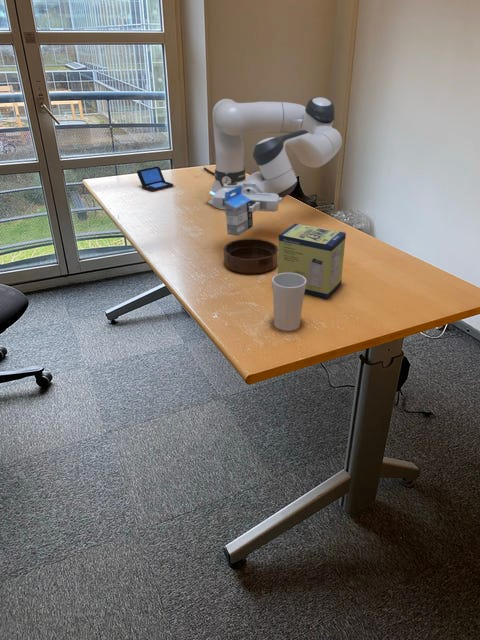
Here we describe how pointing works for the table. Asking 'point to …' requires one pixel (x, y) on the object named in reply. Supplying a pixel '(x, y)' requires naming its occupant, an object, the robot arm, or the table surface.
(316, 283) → the protein box
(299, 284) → the cup
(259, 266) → the bowl
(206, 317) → the table surface
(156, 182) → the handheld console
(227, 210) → the label tape box
